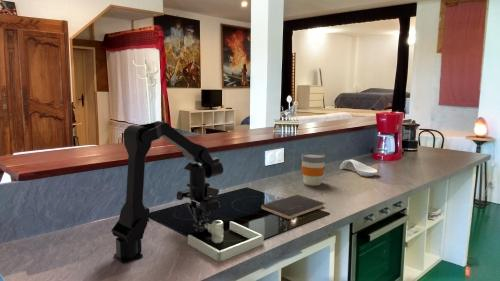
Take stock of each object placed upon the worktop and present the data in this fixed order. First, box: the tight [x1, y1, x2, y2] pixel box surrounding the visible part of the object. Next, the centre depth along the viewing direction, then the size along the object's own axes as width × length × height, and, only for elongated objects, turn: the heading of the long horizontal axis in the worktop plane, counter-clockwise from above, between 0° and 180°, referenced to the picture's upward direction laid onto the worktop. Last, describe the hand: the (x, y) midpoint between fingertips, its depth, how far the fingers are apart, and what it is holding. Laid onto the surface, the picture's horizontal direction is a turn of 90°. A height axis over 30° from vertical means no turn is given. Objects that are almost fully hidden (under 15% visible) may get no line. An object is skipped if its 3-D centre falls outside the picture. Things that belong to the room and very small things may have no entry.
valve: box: [192, 214, 225, 244], centre depth 129 cm, size 7×7×12 cm
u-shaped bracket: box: [187, 220, 265, 263], centre depth 124 cm, size 19×16×3 cm
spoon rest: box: [339, 159, 378, 178], centre depth 221 cm, size 24×12×7 cm, turn 37°
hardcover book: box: [260, 194, 326, 220], centre depth 160 cm, size 16×23×2 cm
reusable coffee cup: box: [300, 152, 326, 186], centre depth 197 cm, size 13×13×15 cm
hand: (197, 222), depth 135 cm, fingers closed
